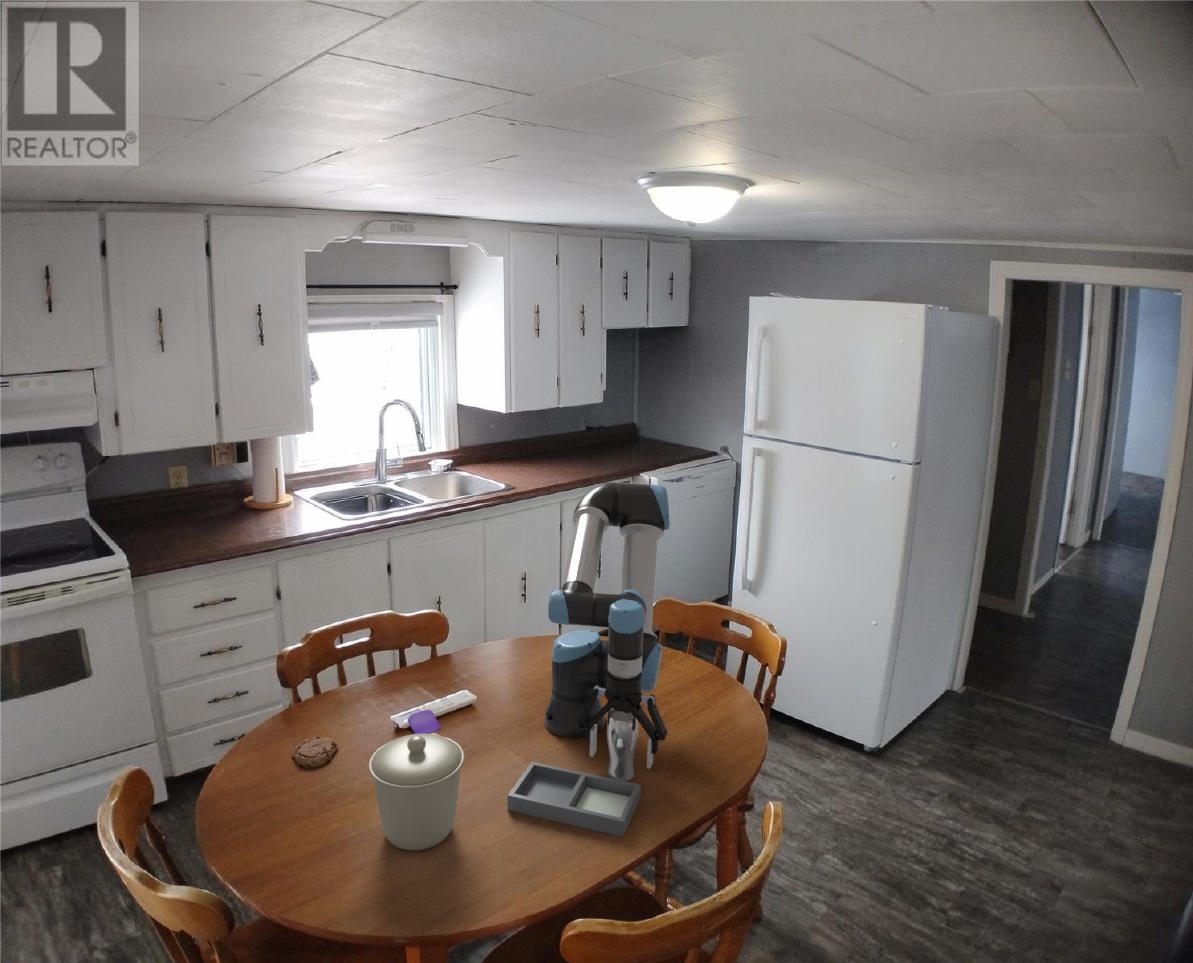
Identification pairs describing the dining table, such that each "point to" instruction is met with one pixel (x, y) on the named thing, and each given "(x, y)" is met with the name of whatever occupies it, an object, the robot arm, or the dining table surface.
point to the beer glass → (621, 744)
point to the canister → (417, 788)
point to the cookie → (314, 751)
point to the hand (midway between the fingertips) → (621, 759)
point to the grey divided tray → (575, 798)
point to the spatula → (423, 722)
